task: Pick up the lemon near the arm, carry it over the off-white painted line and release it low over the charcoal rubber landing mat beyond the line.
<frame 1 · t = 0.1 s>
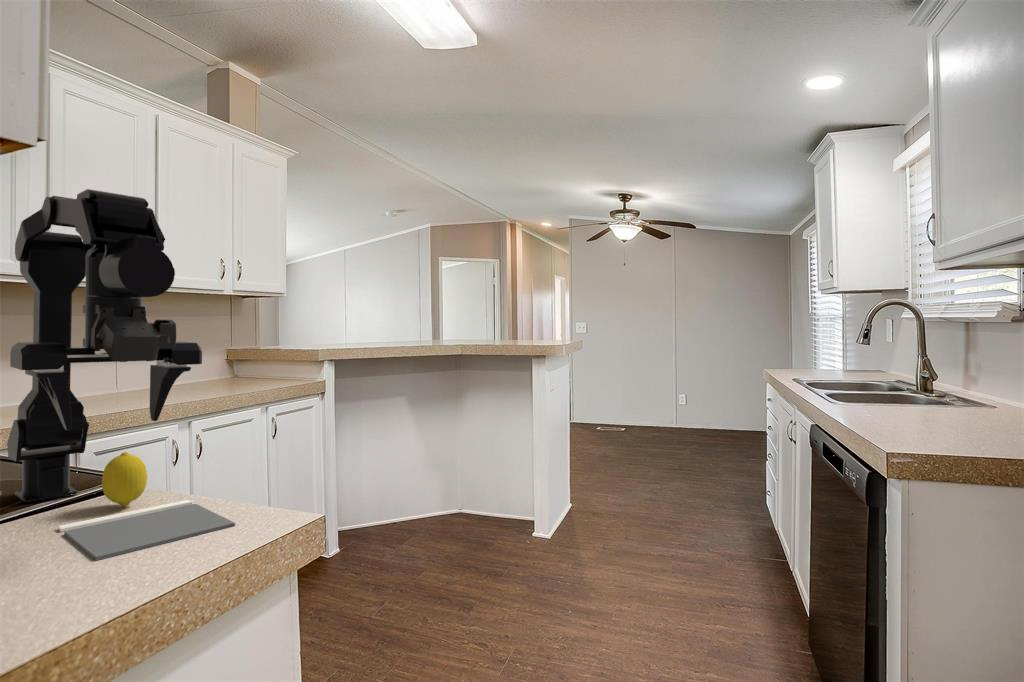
hand: (113, 424, 73), 15 cm above the counter, tool pointing down, fingers open, 9 cm apart
landing mat: (152, 529, 78), on the counter
lemon: (124, 508, 87), on the counter
throw line: (129, 515, 83), on the counter
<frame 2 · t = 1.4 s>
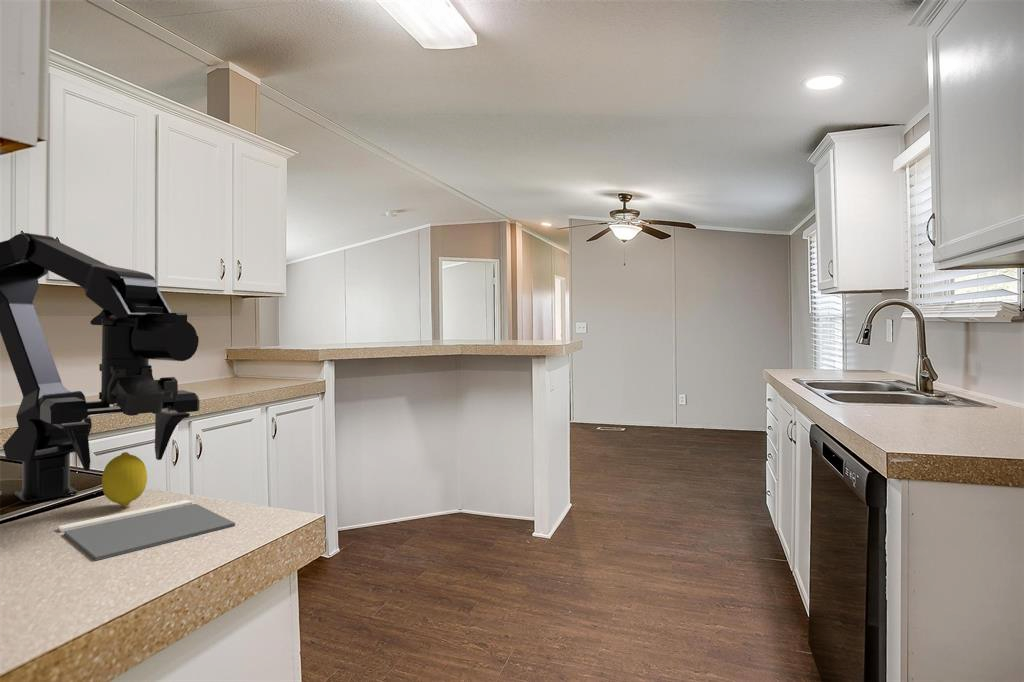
hand: (124, 464, 87), 6 cm above the counter, tool pointing down, fingers open, 9 cm apart
nothing on the counter moved.
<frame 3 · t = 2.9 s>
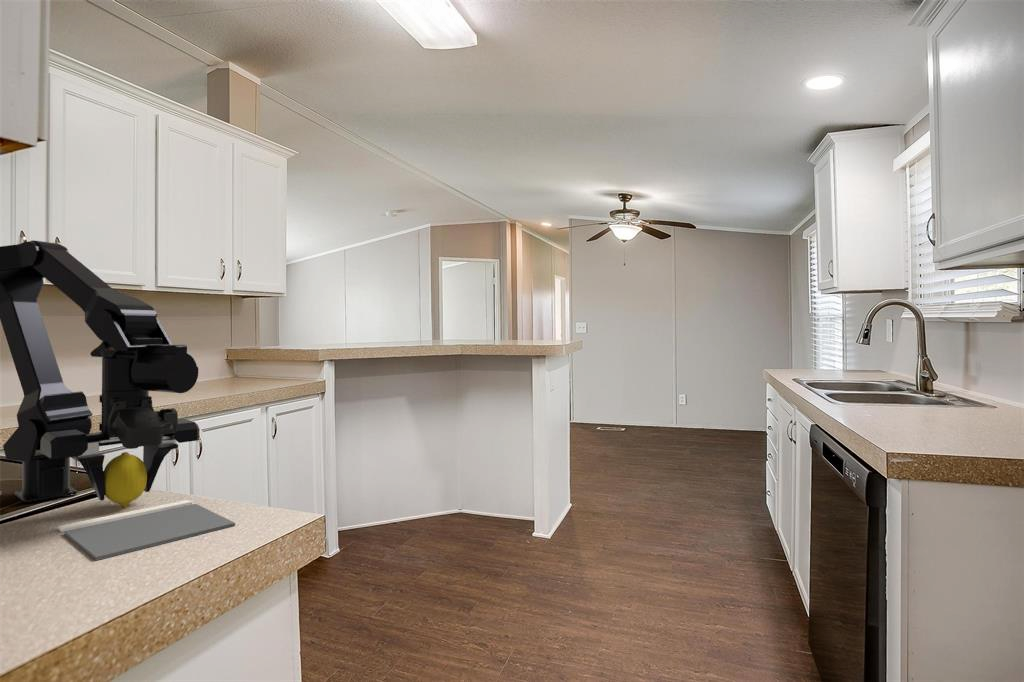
hand: (124, 495, 87), 2 cm above the counter, tool pointing down, fingers closed on lemon, 5 cm apart
lemon: (124, 508, 87), on the counter, touching gripper
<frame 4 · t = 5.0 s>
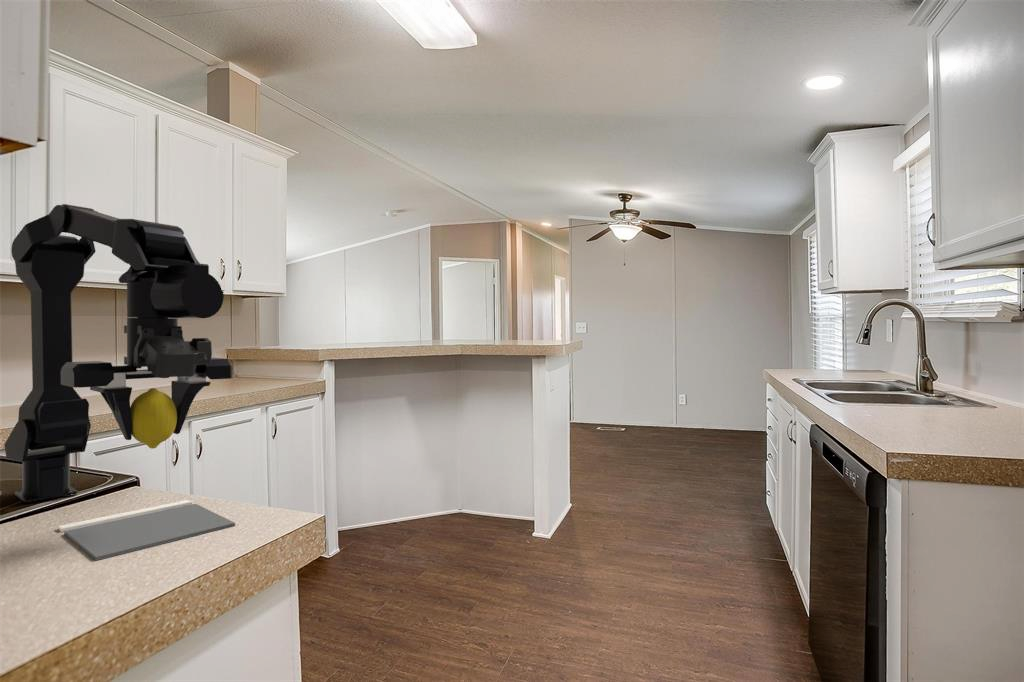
hand: (153, 436, 78), 12 cm above the counter, tool pointing down, fingers closed on lemon, 5 cm apart
lemon: (153, 450, 78), point 10 cm above the counter, touching gripper
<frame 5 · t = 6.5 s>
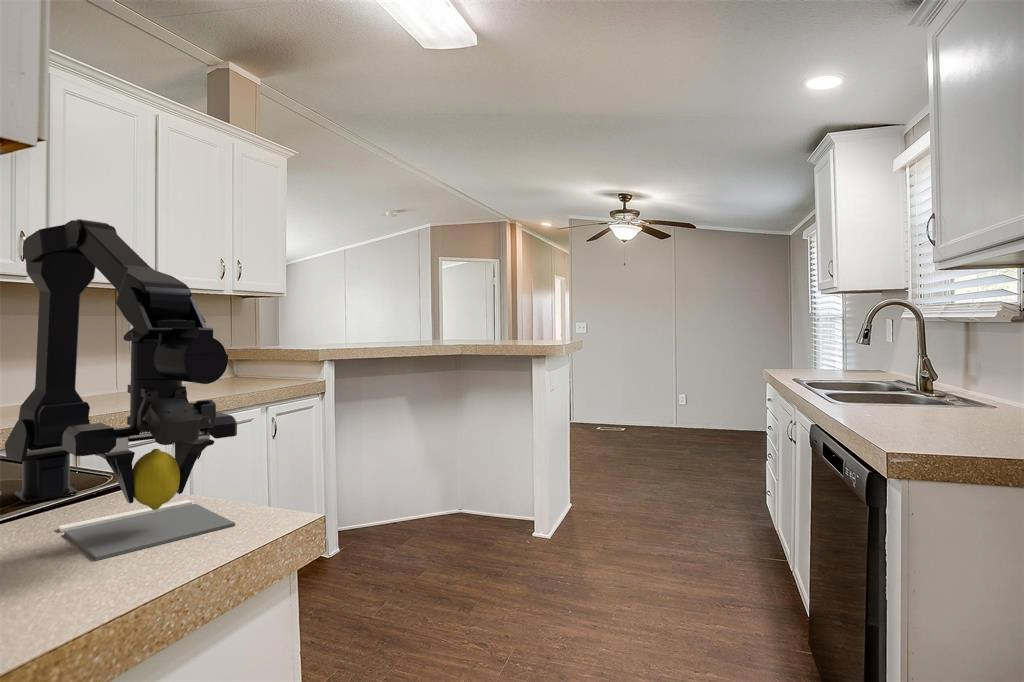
hand: (155, 497, 77), 4 cm above the counter, tool pointing down, fingers closed on lemon, 5 cm apart
lemon: (155, 511, 77), point 3 cm above the counter, touching gripper
when the fingers open (4 cm above the counter, at t = 7.4 s): lemon drops 2 cm, resting on landing mat.
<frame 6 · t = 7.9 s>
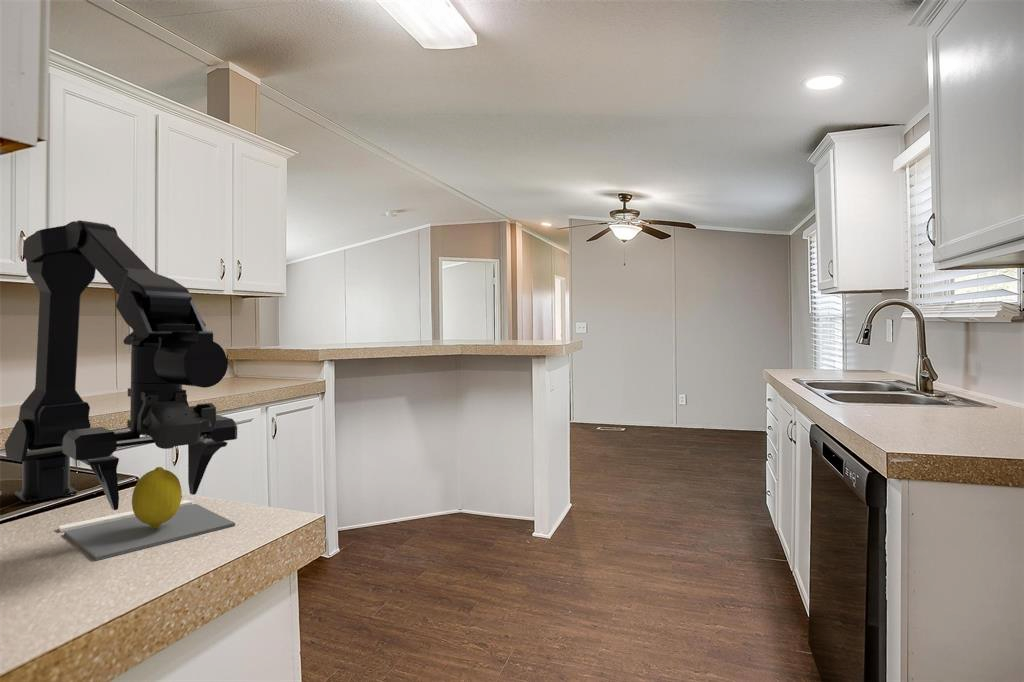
hand: (155, 501, 77), 4 cm above the counter, tool pointing down, fingers open, 9 cm apart
lemon: (155, 529, 77), resting on landing mat
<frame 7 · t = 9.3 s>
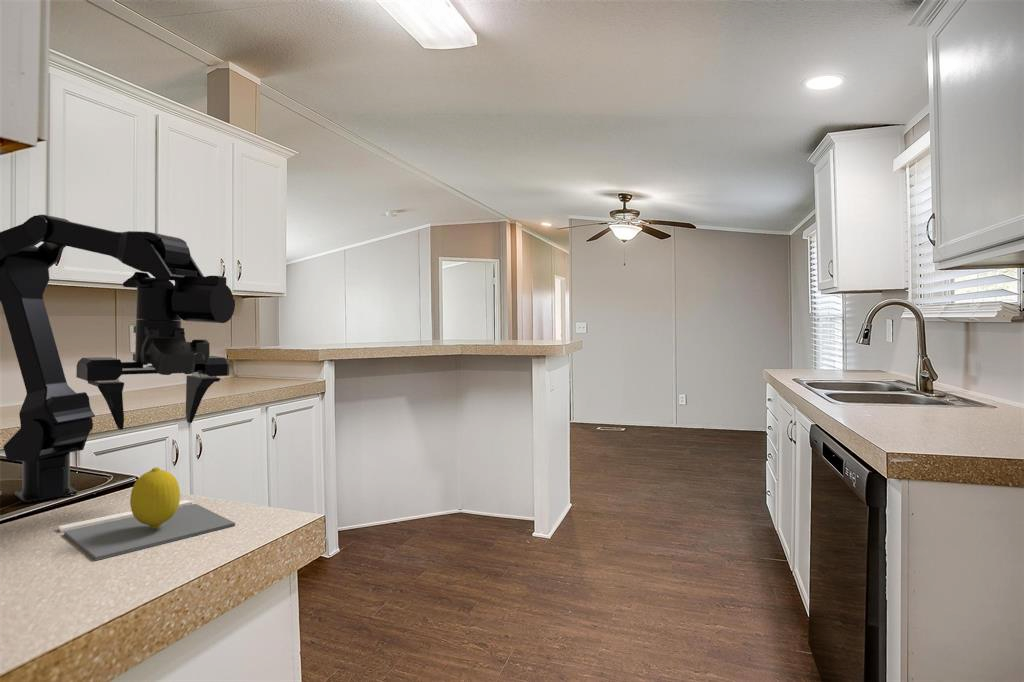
hand: (156, 425, 88), 12 cm above the counter, tool pointing down, fingers open, 9 cm apart
nothing on the counter moved.
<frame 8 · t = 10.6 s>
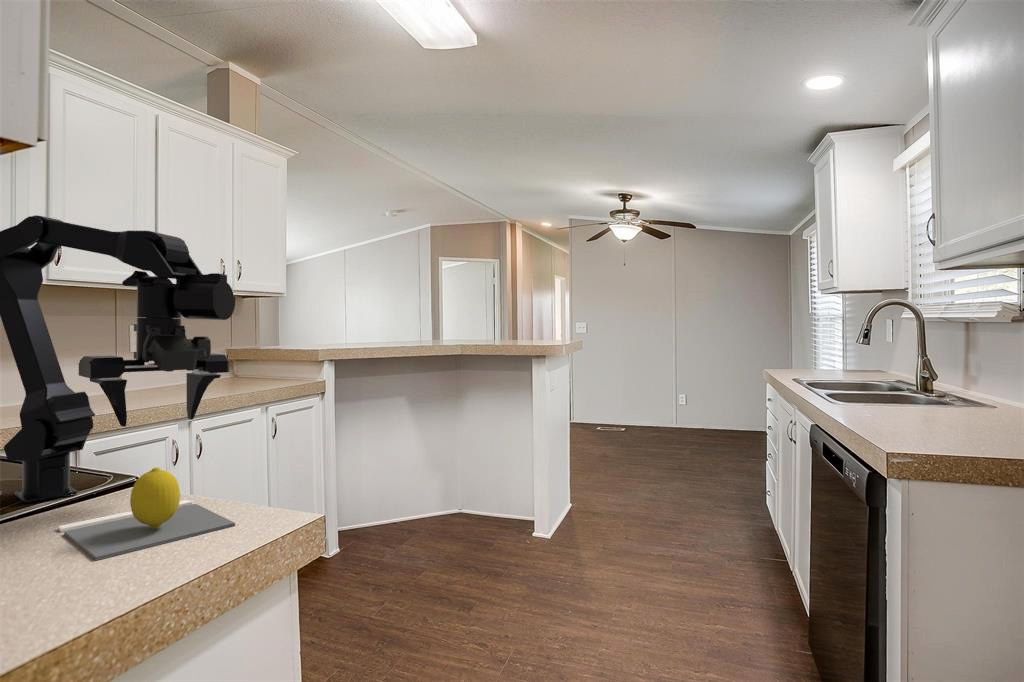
hand: (158, 422, 89), 12 cm above the counter, tool pointing down, fingers open, 9 cm apart
nothing on the counter moved.
at the end: lemon inside the target area (1.0 cm from its centre), resting on landing mat; the gripper is holding nothing; lemon moved 14.0 cm from its start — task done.
